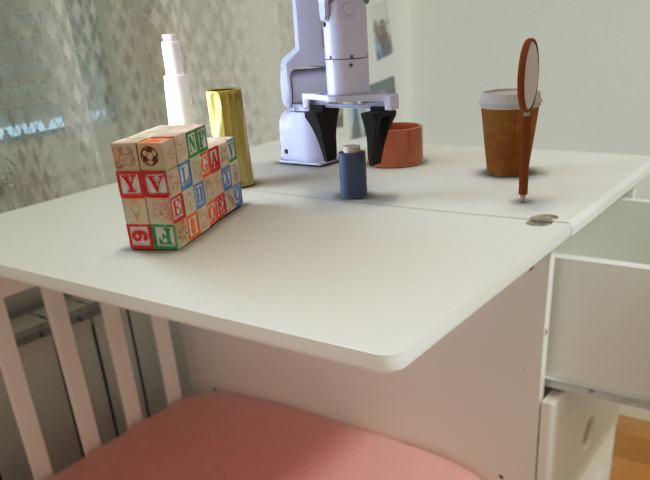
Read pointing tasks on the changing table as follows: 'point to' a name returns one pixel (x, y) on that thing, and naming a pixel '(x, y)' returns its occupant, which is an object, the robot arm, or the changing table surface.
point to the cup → (402, 146)
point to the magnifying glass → (526, 105)
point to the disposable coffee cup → (504, 129)
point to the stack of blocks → (175, 183)
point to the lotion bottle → (352, 172)
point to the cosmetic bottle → (176, 84)
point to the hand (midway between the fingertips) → (352, 162)
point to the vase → (231, 125)
